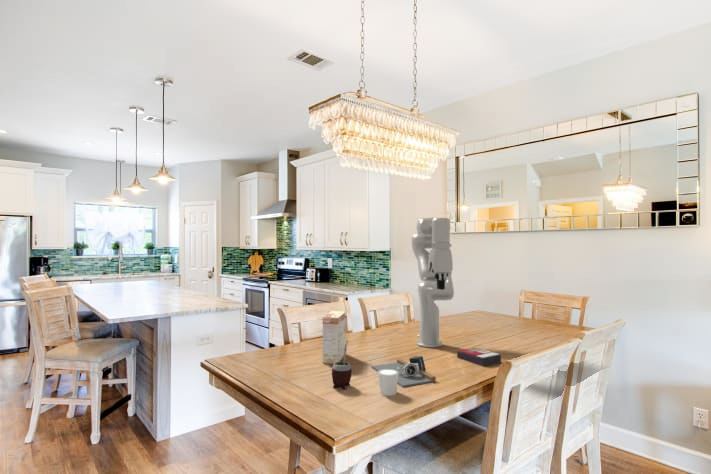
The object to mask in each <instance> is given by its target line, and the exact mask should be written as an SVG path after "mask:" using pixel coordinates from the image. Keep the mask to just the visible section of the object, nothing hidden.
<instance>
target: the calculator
mask: <svg viewBox="0 0 711 474" xmlns="http://www.w3.org/2000/svg"><path fill="white" fill-rule="evenodd" d="M456 354H457V355H456V358H457V359H460V360H463V361H466V362H469V363H472V364H475V365H478V366H479V367H482V368H483V367H489V366H493V365H498V364H501V363H502V355H501V354H499V353H497V352H492V351H490V350H486V349H483V348H482V349H481V348H477V347H470V348H465V349H464V348H463V349H460V350H458V351H457V352H456Z"/></svg>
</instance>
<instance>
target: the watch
mask: <svg viewBox="0 0 711 474" xmlns="http://www.w3.org/2000/svg"><path fill="white" fill-rule="evenodd" d="M408 361H409V362H408ZM408 361H407V362H408V364H405V365H402V366H400V367H398V373H399V375H404V376H408V377H414V376H415V375H416V374H417V373H418V371H419V370H424V371H426V370H427V369H426V366H425V360H424V357H423V356H417V355H416V356H412V357H410V358H408ZM426 372H427V371H426Z"/></svg>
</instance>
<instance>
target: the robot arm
mask: <svg viewBox="0 0 711 474" xmlns="http://www.w3.org/2000/svg"><path fill="white" fill-rule="evenodd" d="M450 231H451V221H450V219H449V218H448V217H427V218H426V217H425V218H424V217H423V218H419V219H417V221H416V233H415V234H413V236H412V237H411V248H412V252H413V253H414V256H415V258H416V260H417V261H416V262H417V268H418V275H419V279H420V280H421V281H422V282H420V283H419V284H418V288H417V291H418V298H419V334H417V335H416V337H418V340H416V345H417V346H420V347H424V348H432V349H433V348H440V347H442V346H443V342H442V341H440V308H439V306H438V305H437V304H436V303H435V301H451V300H452V299H454V296H455V291H454V290H455V289H454V284H453V280H452V279H453V278H452V271H453V256H452V255H453V254H452V250H451V247H452V244H451V243H450V242H451V234H450V233H451V232H450ZM427 249H429V250H430V251H428V250H427Z"/></svg>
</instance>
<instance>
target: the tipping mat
mask: <svg viewBox="0 0 711 474" xmlns="http://www.w3.org/2000/svg"><path fill="white" fill-rule="evenodd" d="M405 364H408V361H406V360H405V359H402V358H399V359H398V358H397V359H396V362H391V363H384V364H378V365H377V364H376V365H371V366H370V367H371V369H373V370H374V371H376V372H378V371H380V370H382V369H393V370H396V371H398V367H400V366H402V365H405ZM436 380H437V379H436V376H435V375H433V374H432V373H429V372H427V371H424V370H419V371H418V373H417V374H416V375H415V376H414V377H408V376H404V375H399V373H398V382H397V386H400V387H402V388H406V387H407V388H408V387H413V386H418V385H423V384H425V385H426V384H429V383H435V382H436Z"/></svg>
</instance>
